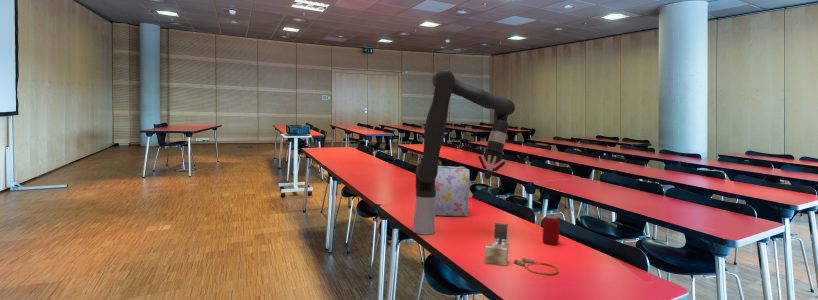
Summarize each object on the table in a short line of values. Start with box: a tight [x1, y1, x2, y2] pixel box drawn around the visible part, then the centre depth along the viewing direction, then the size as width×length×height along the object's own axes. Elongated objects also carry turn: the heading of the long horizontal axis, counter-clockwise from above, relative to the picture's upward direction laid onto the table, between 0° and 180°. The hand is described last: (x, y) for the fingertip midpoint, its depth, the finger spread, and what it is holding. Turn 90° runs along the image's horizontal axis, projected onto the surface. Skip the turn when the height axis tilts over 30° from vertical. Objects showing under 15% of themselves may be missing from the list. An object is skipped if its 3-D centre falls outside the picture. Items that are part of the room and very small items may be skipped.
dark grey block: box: [493, 222, 509, 244], centre depth 173 cm, size 5×18×10 cm, turn 163°
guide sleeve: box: [493, 233, 509, 246], centre depth 181 cm, size 5×16×4 cm, turn 163°
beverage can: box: [542, 214, 561, 246], centre depth 190 cm, size 7×7×12 cm
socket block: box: [484, 242, 509, 266], centre depth 165 cm, size 8×6×6 cm
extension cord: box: [513, 257, 559, 276], centre depth 160 cm, size 12×16×2 cm
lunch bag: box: [435, 165, 470, 217], centre depth 238 cm, size 22×17×26 cm
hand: (487, 178), depth 196 cm, fingers closed
